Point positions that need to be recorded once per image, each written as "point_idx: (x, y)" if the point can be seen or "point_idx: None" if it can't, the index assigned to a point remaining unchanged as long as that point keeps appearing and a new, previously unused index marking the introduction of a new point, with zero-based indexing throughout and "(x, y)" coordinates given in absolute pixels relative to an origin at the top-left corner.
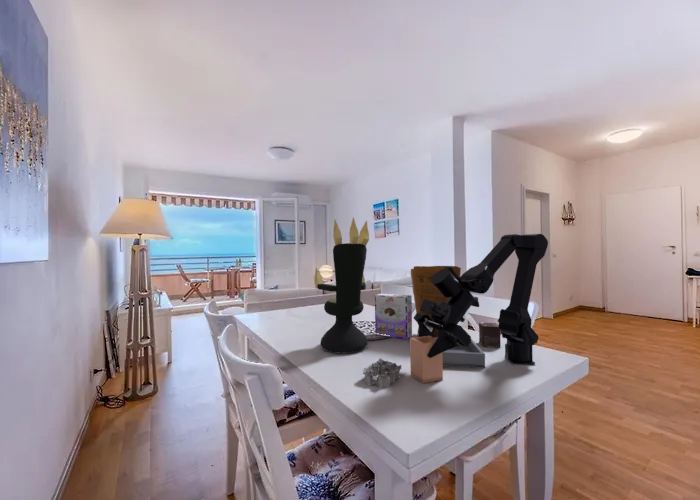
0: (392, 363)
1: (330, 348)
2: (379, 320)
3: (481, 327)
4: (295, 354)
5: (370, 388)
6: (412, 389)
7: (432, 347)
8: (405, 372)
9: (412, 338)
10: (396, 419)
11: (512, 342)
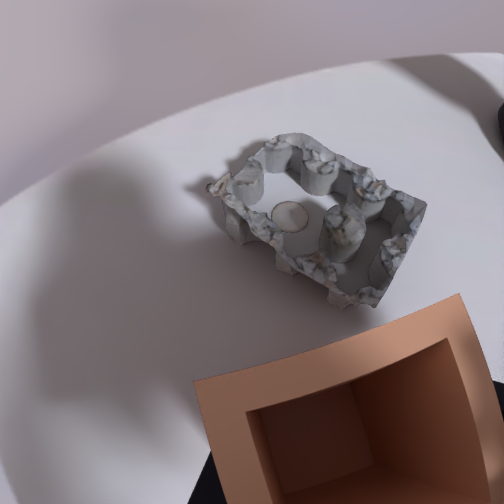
0: (392, 259)
1: (500, 111)
2: None
3: None
4: (455, 67)
5: None
6: (186, 330)
7: (210, 496)
8: None
9: (439, 313)
10: (36, 226)
11: None
